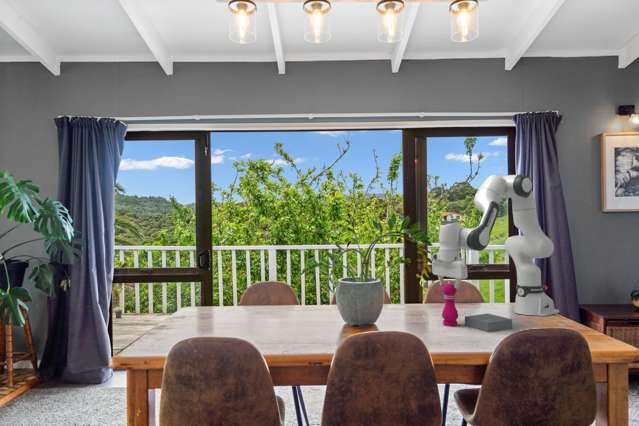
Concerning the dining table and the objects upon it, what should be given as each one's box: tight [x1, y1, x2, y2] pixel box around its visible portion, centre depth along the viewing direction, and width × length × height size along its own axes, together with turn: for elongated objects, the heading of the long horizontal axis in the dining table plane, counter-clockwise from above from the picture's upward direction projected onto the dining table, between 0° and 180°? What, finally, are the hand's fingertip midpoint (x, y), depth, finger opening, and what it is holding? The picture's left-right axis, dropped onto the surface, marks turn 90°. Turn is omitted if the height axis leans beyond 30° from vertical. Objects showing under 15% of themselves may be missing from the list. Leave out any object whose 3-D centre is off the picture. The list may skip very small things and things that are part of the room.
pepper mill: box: [441, 280, 459, 327], centre depth 215 cm, size 7×7×20 cm
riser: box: [464, 313, 513, 333], centre depth 210 cm, size 14×14×4 cm
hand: (449, 286), depth 215 cm, fingers open, 8 cm apart
